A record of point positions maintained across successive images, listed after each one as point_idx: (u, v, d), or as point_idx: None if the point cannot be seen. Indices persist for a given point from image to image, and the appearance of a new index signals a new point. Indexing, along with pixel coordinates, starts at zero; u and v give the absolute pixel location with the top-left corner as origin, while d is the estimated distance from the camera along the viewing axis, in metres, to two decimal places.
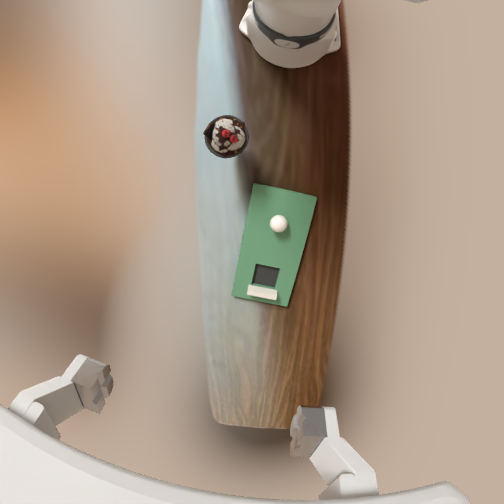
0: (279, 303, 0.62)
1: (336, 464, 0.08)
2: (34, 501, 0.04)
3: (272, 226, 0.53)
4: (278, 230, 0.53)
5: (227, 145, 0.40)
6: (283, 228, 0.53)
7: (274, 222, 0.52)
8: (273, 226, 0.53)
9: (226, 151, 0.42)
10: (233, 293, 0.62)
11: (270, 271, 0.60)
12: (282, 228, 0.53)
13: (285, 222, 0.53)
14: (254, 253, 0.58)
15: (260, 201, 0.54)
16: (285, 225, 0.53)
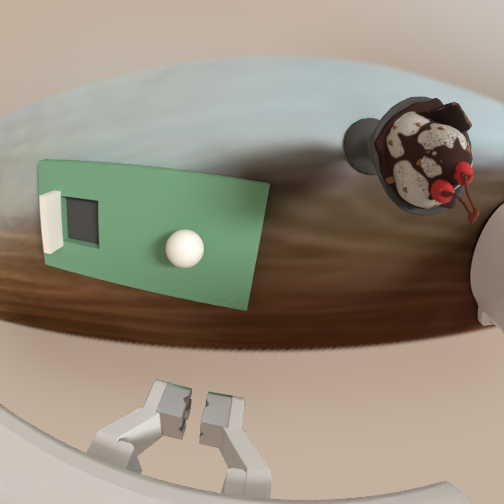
0: None
1: (234, 457, 0.08)
2: (34, 501, 0.04)
3: (176, 240, 0.23)
4: (169, 254, 0.23)
5: (422, 166, 0.12)
6: (175, 264, 0.23)
7: (186, 245, 0.23)
8: (176, 243, 0.23)
9: (392, 152, 0.13)
10: (42, 163, 0.23)
11: (91, 228, 0.27)
12: (174, 263, 0.23)
13: (189, 266, 0.24)
14: (116, 196, 0.24)
15: (230, 201, 0.24)
16: (183, 267, 0.24)
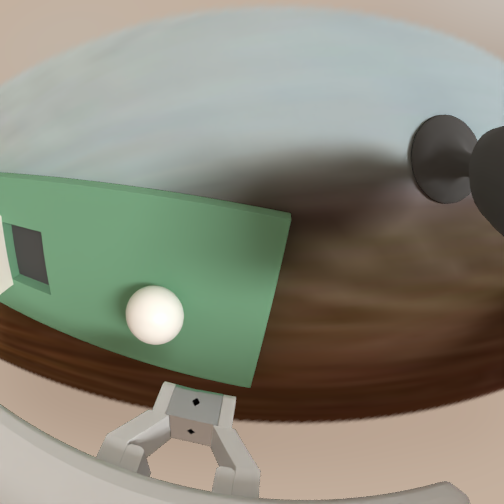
0: None
1: (224, 456, 0.08)
2: (34, 501, 0.04)
3: (138, 308, 0.14)
4: (130, 327, 0.14)
5: None
6: (141, 340, 0.14)
7: (153, 317, 0.13)
8: (138, 313, 0.13)
9: None
10: None
11: (41, 264, 0.18)
12: (139, 339, 0.14)
13: (162, 343, 0.15)
14: (61, 227, 0.15)
15: (225, 243, 0.15)
16: (152, 344, 0.14)
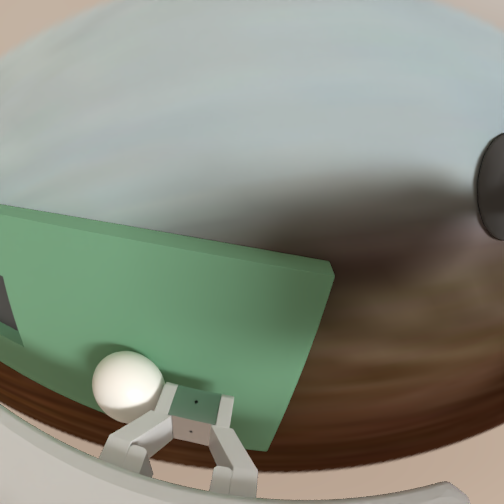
0: None
1: (222, 455, 0.08)
2: (34, 501, 0.04)
3: (97, 375, 0.09)
4: None
5: None
6: None
7: (106, 394, 0.09)
8: (95, 380, 0.09)
9: None
10: None
11: (11, 310, 0.13)
12: None
13: None
14: (23, 273, 0.11)
15: (240, 307, 0.10)
16: None
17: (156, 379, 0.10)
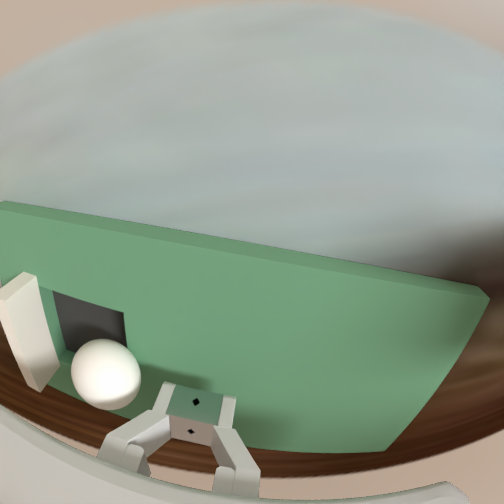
0: None
1: (224, 456, 0.08)
2: (34, 501, 0.04)
3: (83, 373, 0.09)
4: (78, 392, 0.09)
5: None
6: None
7: (102, 384, 0.09)
8: (83, 379, 0.09)
9: None
10: None
11: None
12: (91, 404, 0.10)
13: (119, 407, 0.10)
14: (170, 310, 0.11)
15: (428, 329, 0.10)
16: None
17: (129, 352, 0.11)
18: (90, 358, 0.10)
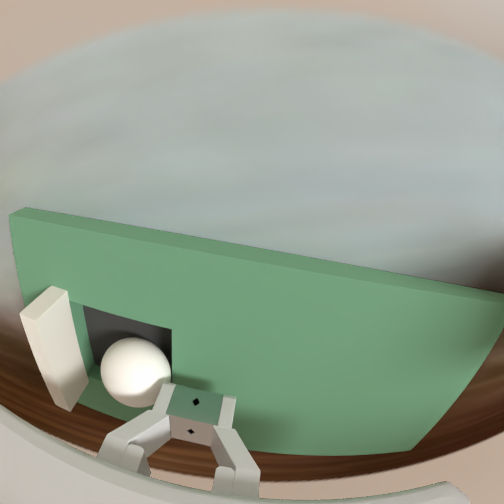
0: None
1: (224, 456, 0.08)
2: (34, 501, 0.04)
3: (106, 355, 0.11)
4: None
5: None
6: None
7: (110, 374, 0.10)
8: (103, 360, 0.10)
9: None
10: (17, 222, 0.10)
11: None
12: None
13: None
14: (226, 326, 0.11)
15: (463, 335, 0.10)
16: None
17: (161, 367, 0.11)
18: (118, 349, 0.11)
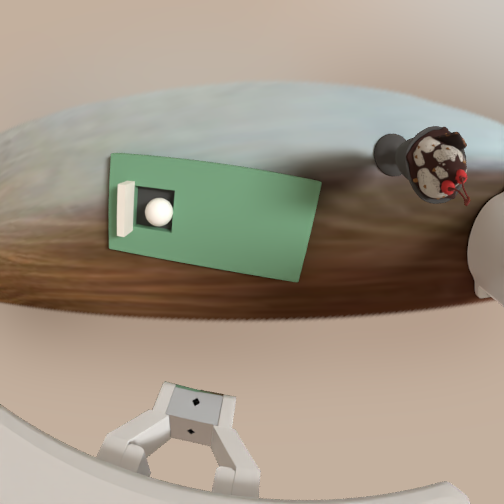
0: (111, 236, 0.34)
1: (224, 456, 0.08)
2: (34, 501, 0.04)
3: (149, 202, 0.31)
4: None
5: (436, 172, 0.19)
6: None
7: (151, 206, 0.30)
8: (148, 204, 0.31)
9: (416, 163, 0.20)
10: (115, 156, 0.30)
11: None
12: None
13: (154, 223, 0.31)
14: (193, 187, 0.31)
15: (291, 194, 0.31)
16: (151, 223, 0.31)
17: (170, 205, 0.31)
18: (154, 199, 0.31)
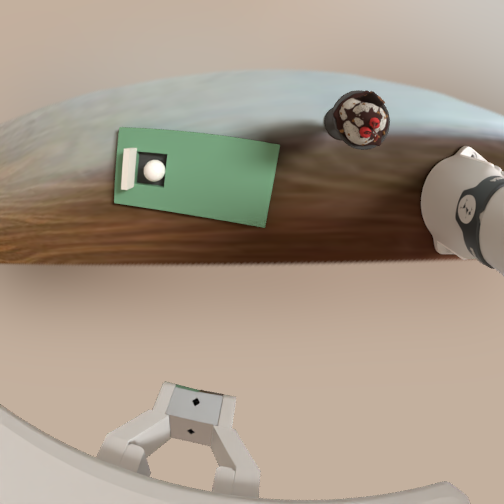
0: (116, 192, 0.42)
1: (224, 456, 0.08)
2: (34, 501, 0.04)
3: (147, 163, 0.39)
4: None
5: (354, 121, 0.26)
6: (145, 176, 0.39)
7: (148, 165, 0.38)
8: (146, 164, 0.39)
9: (342, 118, 0.28)
10: (122, 129, 0.38)
11: None
12: None
13: (150, 178, 0.39)
14: (181, 150, 0.39)
15: (256, 154, 0.38)
16: (148, 179, 0.39)
17: (163, 165, 0.39)
18: (151, 160, 0.39)
